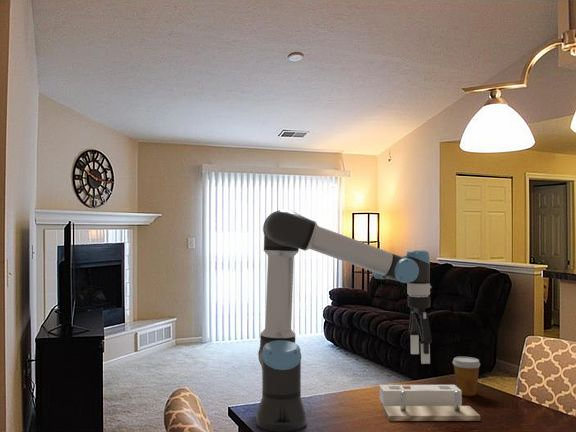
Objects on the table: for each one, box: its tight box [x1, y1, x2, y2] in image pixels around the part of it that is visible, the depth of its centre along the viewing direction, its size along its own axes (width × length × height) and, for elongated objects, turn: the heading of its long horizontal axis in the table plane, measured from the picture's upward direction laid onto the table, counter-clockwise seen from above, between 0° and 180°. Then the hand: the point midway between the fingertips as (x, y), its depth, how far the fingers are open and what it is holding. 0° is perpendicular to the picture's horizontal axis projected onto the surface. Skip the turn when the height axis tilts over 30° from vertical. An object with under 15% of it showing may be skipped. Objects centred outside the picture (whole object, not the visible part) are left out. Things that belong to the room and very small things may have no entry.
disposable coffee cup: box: [452, 356, 481, 397], centre depth 184 cm, size 10×10×12 cm
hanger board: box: [382, 405, 481, 422], centre depth 160 cm, size 28×9×2 cm, turn 91°
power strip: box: [379, 384, 463, 407], centre depth 173 cm, size 26×7×6 cm, turn 91°
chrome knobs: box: [400, 391, 460, 412], centre depth 160 cm, size 19×2×7 cm, turn 91°
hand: (420, 358), depth 173 cm, fingers open, 13 cm apart
